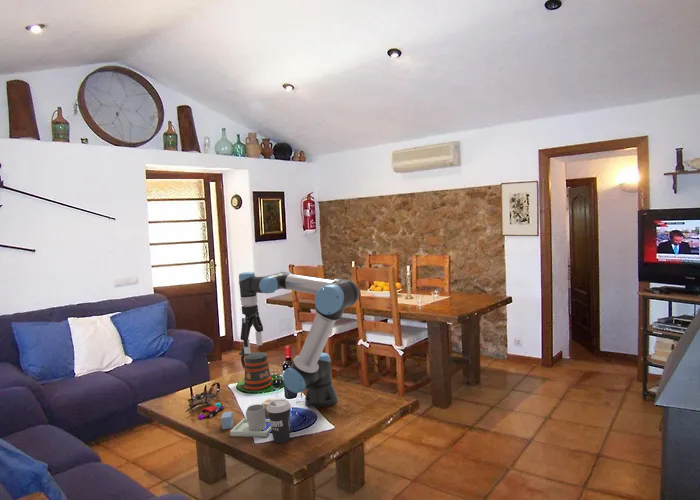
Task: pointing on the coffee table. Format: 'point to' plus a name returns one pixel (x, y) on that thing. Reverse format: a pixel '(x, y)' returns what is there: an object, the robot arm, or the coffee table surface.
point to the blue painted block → (227, 420)
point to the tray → (243, 430)
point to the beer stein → (256, 370)
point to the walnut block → (266, 411)
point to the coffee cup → (279, 420)
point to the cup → (256, 417)
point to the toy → (211, 410)
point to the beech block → (267, 401)
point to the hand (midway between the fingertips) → (253, 349)
